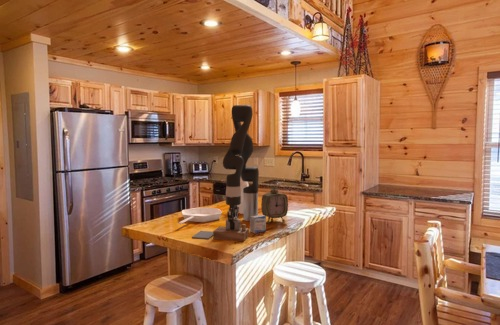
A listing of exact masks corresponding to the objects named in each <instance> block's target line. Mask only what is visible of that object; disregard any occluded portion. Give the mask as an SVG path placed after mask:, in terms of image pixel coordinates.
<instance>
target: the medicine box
mask: <svg viewBox="0 0 500 325" xmlns="http://www.w3.org/2000/svg"><path fill="white" fill-rule="evenodd" d="M264 231H265V232H266V231H267V216H265V215H263V214H258V215H257V216H250V221H249V233H252V234H259V232H260V233H264Z"/></svg>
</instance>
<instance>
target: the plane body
mask: <svg viewBox="0 0 500 325" xmlns="http://www.w3.org/2000/svg"><path fill="white" fill-rule="evenodd" d="M212 232H213V236H212V238H213V240H222V241H223V240H224V241H237V242H245V241H246V240H247V238H249V236H250V227H247V224H245V223H241V230H240V231H230V230H226V226H218V227H217V228H215V229H214V230H213V231H212Z"/></svg>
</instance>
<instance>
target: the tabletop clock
mask: <svg viewBox="0 0 500 325" xmlns="http://www.w3.org/2000/svg"><path fill="white" fill-rule="evenodd" d="M273 183H277V184H278V186H275V185H273V186H271V184H273ZM279 187H280V182H278V181H274V180H273V181H271V182H270V183H269V188H271V190H269V192H267V193H263V194H262V196H261V205H260V206H261V213H262V214H261V215H264V216H266V218H267V217H268V220H266V224H270V223H271V222H273V221H274V219H281V220H282V223H284V222H285V221H286V220H285V219H284V217H286V216H287V214H288V208H289V199H288V195H287V194H286V193H281V192H279V190H278V189H277V188H279ZM270 221H271V222H270Z"/></svg>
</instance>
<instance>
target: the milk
mask: <svg viewBox="0 0 500 325" xmlns="http://www.w3.org/2000/svg"><path fill="white" fill-rule="evenodd" d="M248 186H250V184H249V182H246V181H243V180H242V179H241V177H240V189H241V204H240V205H237V207H239V212H238V213H240V214H239V215H243V189H244V188H245V187H248Z"/></svg>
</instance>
